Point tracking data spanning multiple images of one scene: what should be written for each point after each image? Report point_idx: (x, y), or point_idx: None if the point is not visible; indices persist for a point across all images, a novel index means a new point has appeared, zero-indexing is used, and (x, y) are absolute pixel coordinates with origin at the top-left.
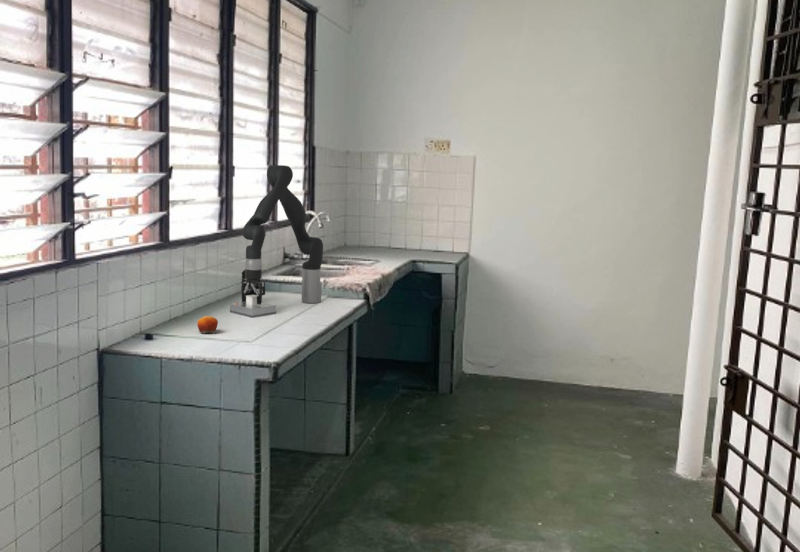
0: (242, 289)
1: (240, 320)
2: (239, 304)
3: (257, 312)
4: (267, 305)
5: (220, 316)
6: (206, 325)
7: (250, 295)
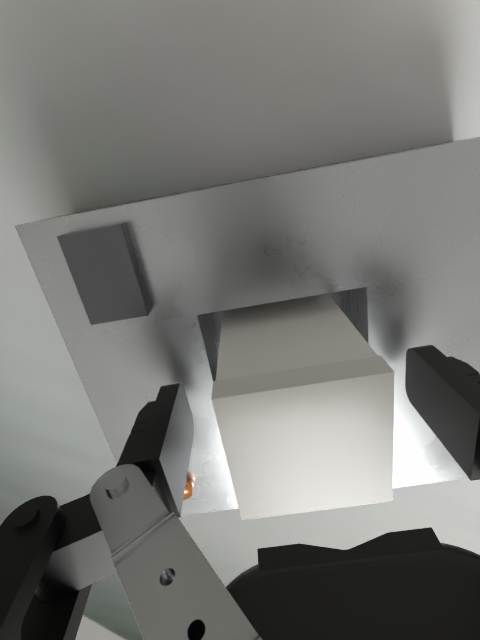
0: (73, 604)
1: (444, 505)
2: (216, 475)
3: None
4: (455, 253)
5: (261, 543)
6: None
7: (264, 472)
